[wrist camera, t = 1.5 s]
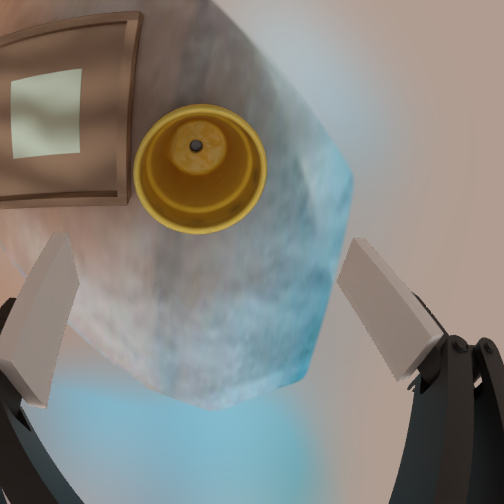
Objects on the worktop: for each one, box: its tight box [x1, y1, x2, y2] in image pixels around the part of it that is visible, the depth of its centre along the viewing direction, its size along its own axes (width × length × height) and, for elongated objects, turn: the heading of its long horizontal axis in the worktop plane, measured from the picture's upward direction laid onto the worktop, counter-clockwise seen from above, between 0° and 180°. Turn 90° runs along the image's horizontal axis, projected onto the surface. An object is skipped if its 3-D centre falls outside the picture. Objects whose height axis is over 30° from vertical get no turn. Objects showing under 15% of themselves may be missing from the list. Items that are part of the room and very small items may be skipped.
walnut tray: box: [0, 11, 143, 209], centre depth 21 cm, size 20×20×2 cm
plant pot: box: [133, 104, 267, 234], centre depth 25 cm, size 10×10×10 cm
